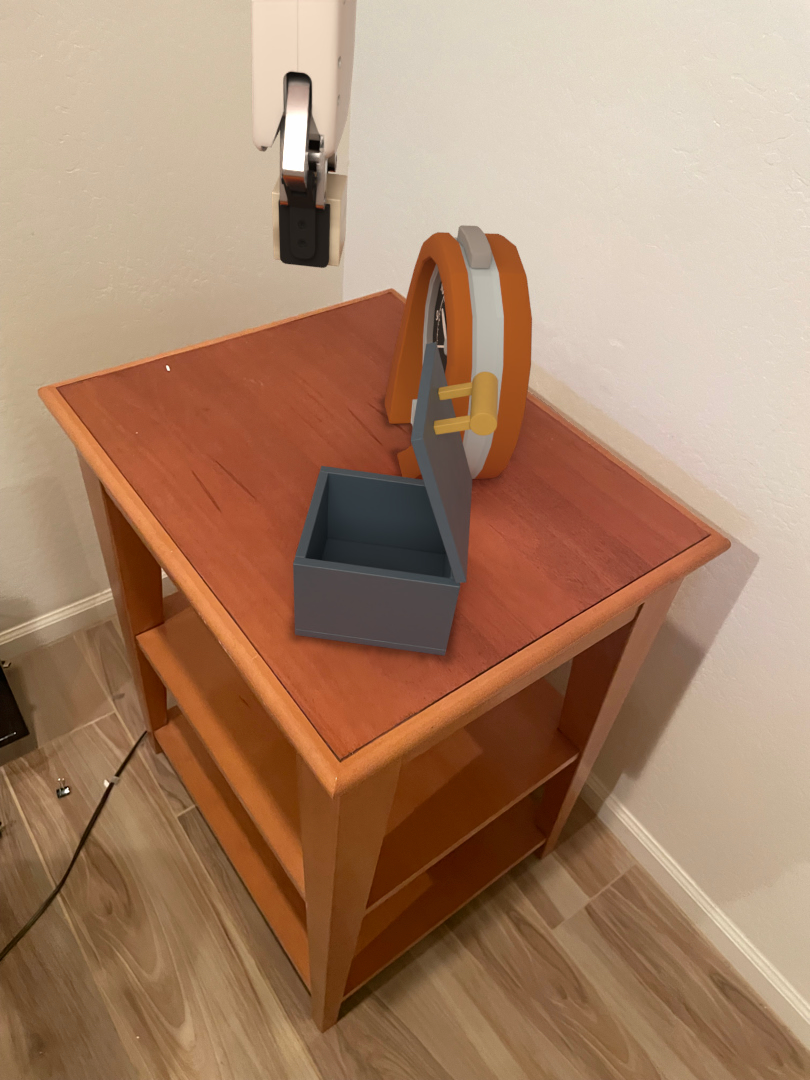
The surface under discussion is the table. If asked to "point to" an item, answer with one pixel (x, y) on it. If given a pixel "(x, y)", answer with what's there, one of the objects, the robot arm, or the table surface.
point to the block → (337, 201)
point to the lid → (450, 449)
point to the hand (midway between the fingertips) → (309, 244)
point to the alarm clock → (466, 338)
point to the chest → (373, 564)
